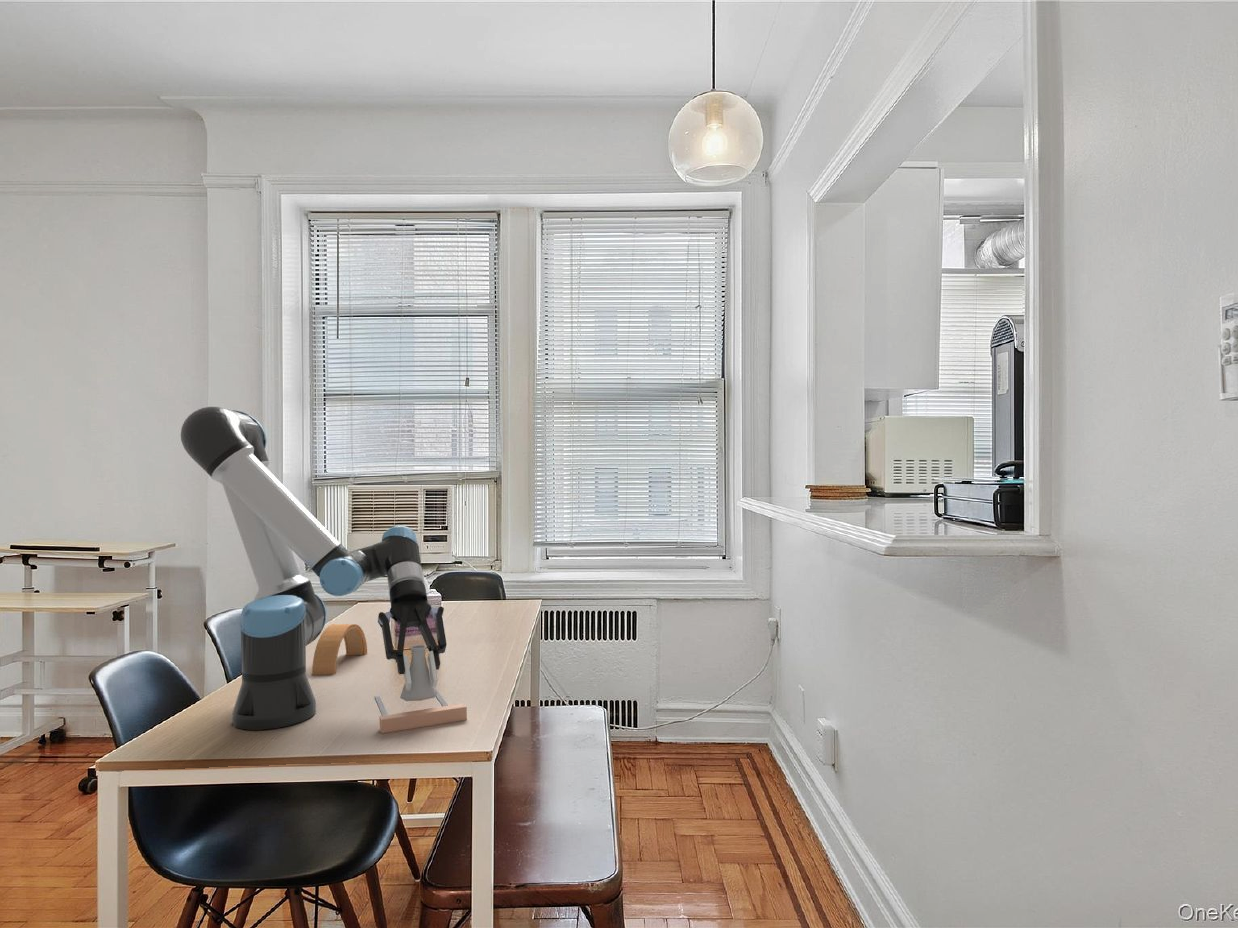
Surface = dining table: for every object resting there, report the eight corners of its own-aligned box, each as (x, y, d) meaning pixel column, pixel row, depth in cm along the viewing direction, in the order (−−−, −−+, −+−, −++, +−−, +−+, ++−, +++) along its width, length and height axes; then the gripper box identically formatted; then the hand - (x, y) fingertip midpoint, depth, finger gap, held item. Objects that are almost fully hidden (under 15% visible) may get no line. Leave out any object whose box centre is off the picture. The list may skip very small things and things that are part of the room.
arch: (368, 654, 197) (367, 617, 198) (334, 674, 177) (333, 633, 178) (347, 654, 198) (346, 617, 198) (311, 674, 178) (310, 633, 178)
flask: (398, 693, 147) (398, 644, 147) (435, 689, 150) (434, 640, 150) (401, 704, 141) (400, 652, 141) (439, 699, 143) (439, 648, 143)
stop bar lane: (381, 733, 136) (381, 719, 136) (367, 698, 157) (367, 686, 158) (466, 719, 143) (466, 706, 143) (442, 687, 164) (442, 676, 164)
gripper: (445, 595, 163) (463, 688, 148) (363, 602, 156) (373, 701, 140) (450, 574, 158) (469, 668, 143) (365, 580, 151) (376, 681, 136)
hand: (422, 684), depth 142 cm, fingers closed on flask, 4 cm apart
